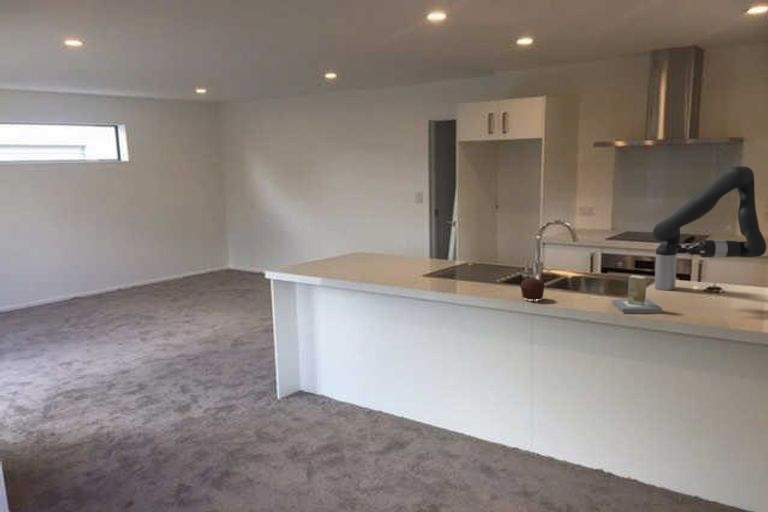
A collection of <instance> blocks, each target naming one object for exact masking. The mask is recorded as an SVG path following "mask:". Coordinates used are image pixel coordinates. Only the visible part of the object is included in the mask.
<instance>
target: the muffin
mask: <svg viewBox="0 0 768 512" xmlns="http://www.w3.org/2000/svg"><path fill="white" fill-rule="evenodd" d="M519 287H520V291H521V297H522V298H523V297H524V298H527V299H533V300H534V299H535V300H536V299H541V298H542V297H544V291H545V287H546V285H545V283H544V282H543V281H542V280H540V279H538V278H533V277H531V278H526V279H524V280H523V281H521V283H520V285H519ZM542 299H543V298H542Z"/></svg>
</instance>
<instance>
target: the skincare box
mask: <svg viewBox="0 0 768 512" xmlns="http://www.w3.org/2000/svg"><path fill="white" fill-rule="evenodd" d="M647 279H648V277H647V276H642V275H636V274H633V275H629V277H628V287H627V289H628V290H627V291H628V292H627V300H628V304H634V305H640V306H642V305H644V304H645V299H646V297H647V296H646V293H647Z"/></svg>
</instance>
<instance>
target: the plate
mask: <svg viewBox="0 0 768 512" xmlns="http://www.w3.org/2000/svg"><path fill="white" fill-rule="evenodd" d="M612 303H613V304H614V305H615V306H616V307H617V308H618V309H619V310H620V311H621V312H624V313H623V314H662V313H663V310H662V309H663V308H662V307H660V305H658V304H656V303H655V302H654V301H652V300H651V299H649V298H647V299H646V298H645V304H644V305H642V306H640V305H634V304H628V299H611V304H612ZM613 304H612V305H613ZM614 305H613V306H614ZM615 306H614V307H615ZM616 307H615V308H616ZM617 308H616V309H617ZM618 309H617V310H618ZM619 310H618V311H619ZM620 311H619V312H620ZM621 312H620V313H621Z"/></svg>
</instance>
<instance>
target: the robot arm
mask: <svg viewBox="0 0 768 512" xmlns="http://www.w3.org/2000/svg"><path fill="white" fill-rule="evenodd" d="M735 189H737V192H738V195H739V206H738V212H737V220H738V225H739V231H740V234H741V235H742V236H744V237H745V239H746V241H737V240H720V239H713V240H712V239H702V240H700V241H699V243H698V244H696V243H693V242H691V243H690V242H689V243H688V242H687V243H686V242H685V243H684V242H680V240H681V228H682V227H685V226H687V225H689V224H691V223H693V222H695V221H697V220H700V219H701V218H702V217H705V215H706V214H707V215H708V213H710V212H711V211H712V210H713V209H714V208H715V206H716V205H717V204H718V203H719V201H720V200H721V198H722V197H724V196H725V195H727V194H728V193H730V192H732V191H733V190H735ZM755 191H756V190H755V174H754V171H753V169H751V168H750V167H748V166H732V167H729V168H728V169H726V170H725V171H724V172H723V173H722V174H720V176H719V177H718V178H716V180H715V181H714V182H712V183H711V184H709V186H707V187H705V188H704V189H703V190H702V191H700V192H699V193H698V194H696V195H695V196H693V197H692V198H691V199H690V200H688V201H687V202H686V203H685V204H684V205H682V206H681V207H680V208H678V209H677V210H676V211H675V212H673V214H671V215H669V217H666V218H665V219H663V220H661V221H659V222H658V223H657V224H656V225H655V226H654V227H653V229H652V230H653V231H652V235H653V237H654V238H655V240H657V241H661V243H660V245H658V246H657V247H656V249H655V267H654V268H655V271H654V289H656V288H657V289H656V290H660V289H661V290H662V291H672V290H673V289H674V290H675V289H676V283H677V282H676V281H677V280H676V279H677V255H678V254H687V255H690V256H691V255H693V256H694V255H695V256H696V255H699V256H700V257H701V258H735V257H737V258H738V257H739V258H755V257H756V258H758V257H762V256H764V255H765V254H766V252H767V242H766V240H765V237H764V236H763V234H762V232H761V230H760V224H759V219H758V215H757V209H756V194H755ZM682 246H683V247H682ZM661 290H660V291H661ZM674 290H673V291H674Z"/></svg>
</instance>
